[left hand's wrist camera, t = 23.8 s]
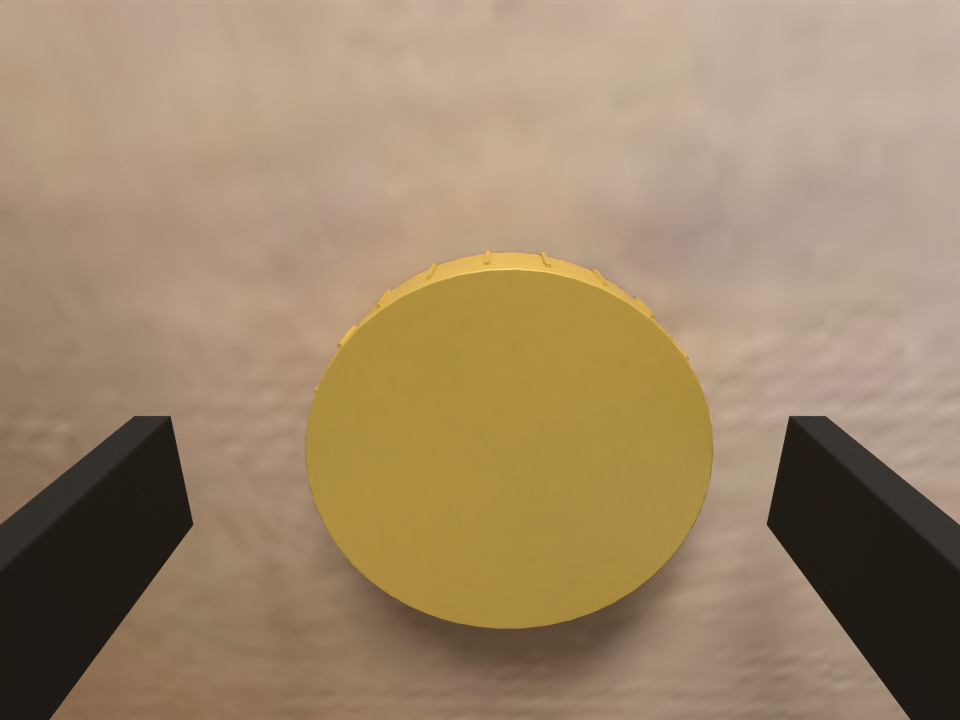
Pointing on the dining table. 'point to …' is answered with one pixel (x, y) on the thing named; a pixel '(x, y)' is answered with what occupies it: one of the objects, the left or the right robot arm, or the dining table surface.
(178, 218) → the dining table surface
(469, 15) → the dining table surface
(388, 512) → the lid
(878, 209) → the dining table surface
